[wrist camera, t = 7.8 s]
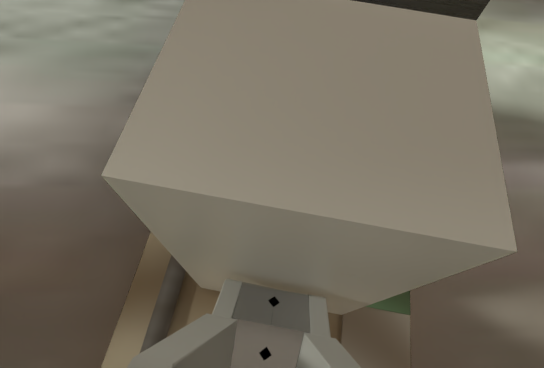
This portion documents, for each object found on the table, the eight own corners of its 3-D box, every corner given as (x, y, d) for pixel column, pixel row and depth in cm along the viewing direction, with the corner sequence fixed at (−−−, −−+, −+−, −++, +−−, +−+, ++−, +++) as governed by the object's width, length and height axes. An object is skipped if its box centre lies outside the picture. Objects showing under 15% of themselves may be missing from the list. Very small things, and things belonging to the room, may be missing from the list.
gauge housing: (403, 326, 13) (709, 286, 4) (201, 287, 14) (100, 175, 5) (402, 179, 16) (577, -17, 8) (237, 150, 17) (219, -72, 8)
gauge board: (397, 897, 9) (442, 1071, 7) (-32, 789, 9) (-117, 920, 7) (395, 125, 20) (411, 100, 18) (210, 93, 21) (205, 65, 19)
